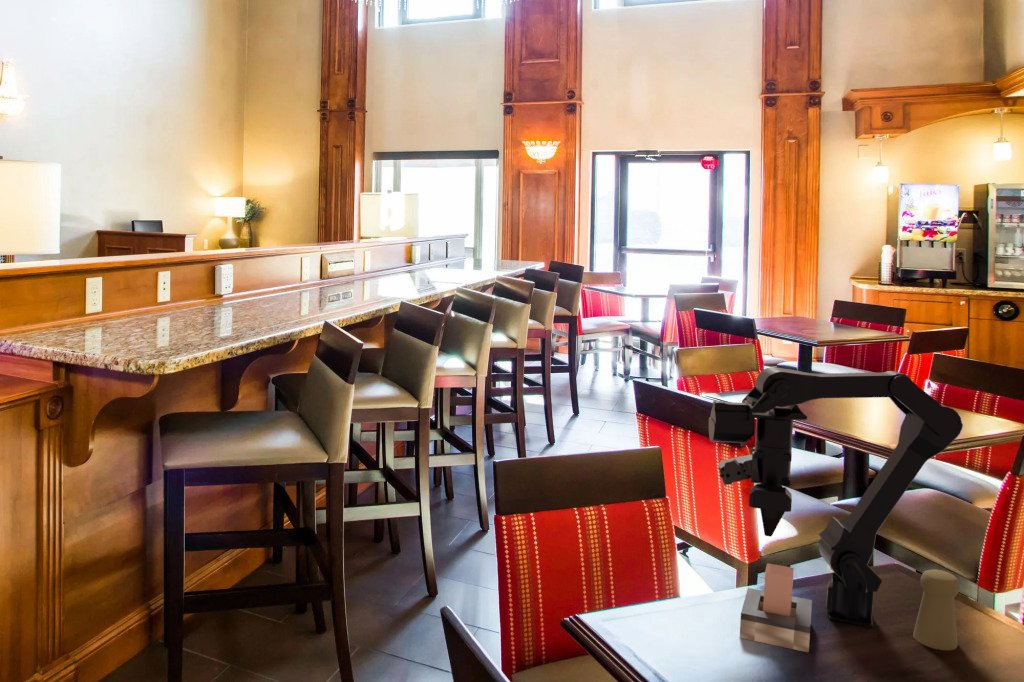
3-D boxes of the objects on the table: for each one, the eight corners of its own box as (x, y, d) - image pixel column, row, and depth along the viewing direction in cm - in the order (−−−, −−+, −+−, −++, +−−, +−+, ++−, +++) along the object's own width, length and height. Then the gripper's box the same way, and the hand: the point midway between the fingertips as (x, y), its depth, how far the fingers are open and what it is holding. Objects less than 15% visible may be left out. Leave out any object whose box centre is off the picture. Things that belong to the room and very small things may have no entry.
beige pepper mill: (964, 652, 109) (970, 583, 108) (920, 647, 111) (926, 578, 110) (948, 633, 115) (954, 567, 114) (907, 628, 117) (912, 563, 115)
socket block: (810, 623, 118) (812, 600, 117) (808, 652, 108) (810, 627, 108) (746, 610, 122) (747, 587, 121) (739, 637, 112) (740, 613, 112)
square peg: (789, 627, 116) (793, 567, 115) (788, 638, 112) (792, 577, 111) (763, 622, 118) (767, 563, 117) (761, 633, 114) (765, 572, 113)
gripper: (726, 428, 131) (722, 512, 132) (718, 451, 113) (713, 547, 115) (792, 434, 127) (787, 520, 128) (794, 459, 109) (788, 558, 111)
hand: (768, 535), depth 121 cm, fingers closed
